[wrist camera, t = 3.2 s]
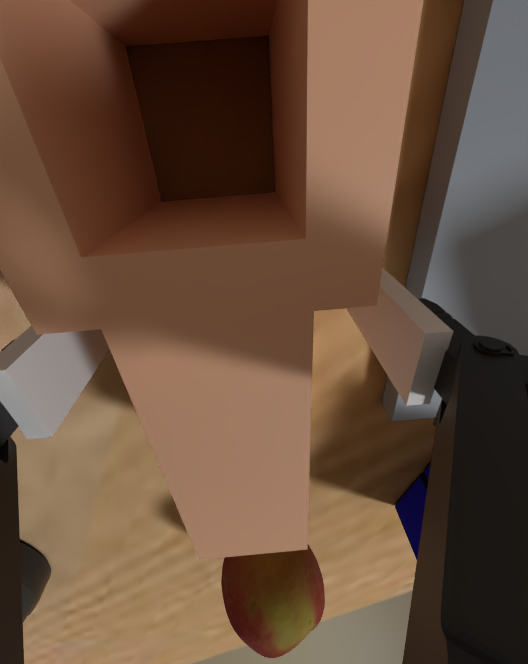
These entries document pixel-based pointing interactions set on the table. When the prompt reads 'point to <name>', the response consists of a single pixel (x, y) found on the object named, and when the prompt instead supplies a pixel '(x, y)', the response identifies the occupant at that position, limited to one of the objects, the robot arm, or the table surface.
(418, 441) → the table surface
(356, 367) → the table surface
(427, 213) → the board
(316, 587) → the apple
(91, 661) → the table surface
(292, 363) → the tan socket bar
